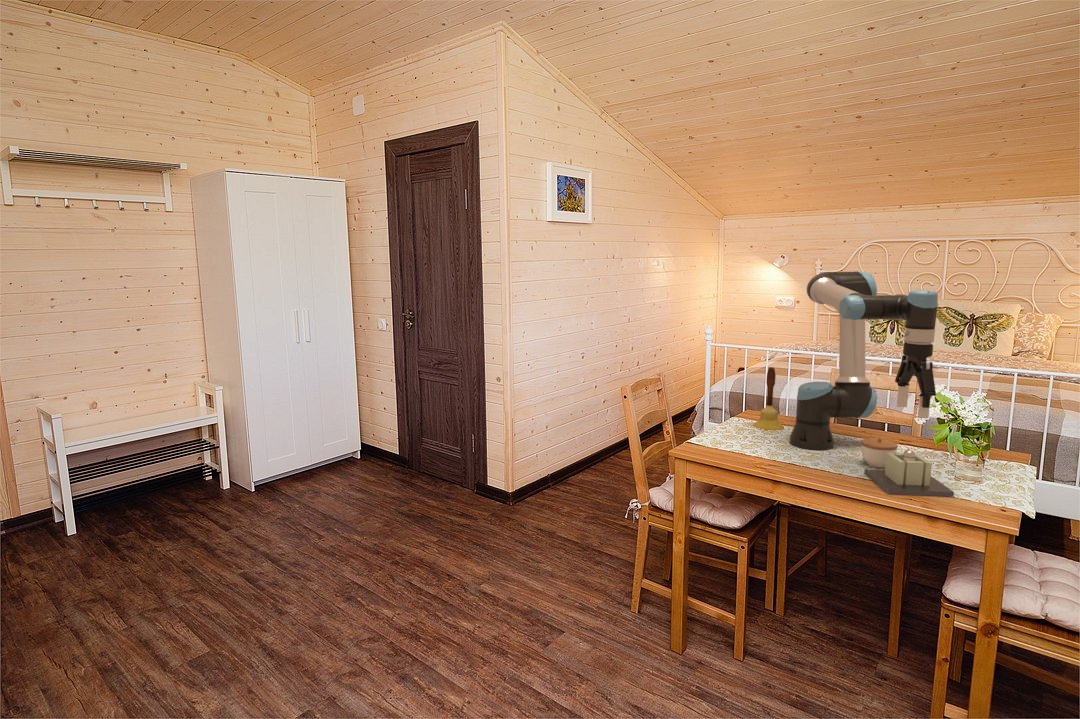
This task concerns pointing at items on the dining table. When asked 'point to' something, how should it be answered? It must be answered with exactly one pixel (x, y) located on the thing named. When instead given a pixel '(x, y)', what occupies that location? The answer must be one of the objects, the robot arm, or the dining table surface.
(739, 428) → the dining table surface
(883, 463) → the lidded jar
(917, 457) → the square link
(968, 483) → the dining table surface
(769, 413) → the handbell
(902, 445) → the dining table surface
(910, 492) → the keeper base
